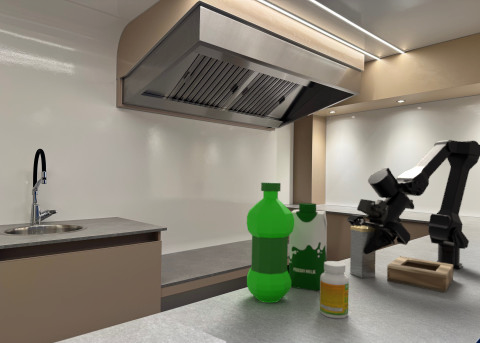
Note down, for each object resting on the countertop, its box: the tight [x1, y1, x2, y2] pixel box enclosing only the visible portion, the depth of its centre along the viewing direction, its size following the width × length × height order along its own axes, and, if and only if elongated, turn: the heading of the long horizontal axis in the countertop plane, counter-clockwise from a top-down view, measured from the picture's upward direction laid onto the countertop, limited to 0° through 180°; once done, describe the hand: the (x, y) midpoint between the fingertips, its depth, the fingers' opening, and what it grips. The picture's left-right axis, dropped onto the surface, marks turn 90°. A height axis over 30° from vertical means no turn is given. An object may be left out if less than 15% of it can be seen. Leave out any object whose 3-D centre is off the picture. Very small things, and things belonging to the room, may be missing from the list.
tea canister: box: [349, 225, 377, 279], centre depth 91 cm, size 5×5×13 cm
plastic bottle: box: [246, 182, 294, 304], centre depth 73 cm, size 10×10×25 cm
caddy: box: [386, 255, 454, 294], centre depth 88 cm, size 13×13×4 cm
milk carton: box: [288, 202, 328, 292], centre depth 83 cm, size 9×9×20 cm
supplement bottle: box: [319, 260, 350, 319], centre depth 66 cm, size 5×5×10 cm
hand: (358, 251), depth 91 cm, fingers closed on tea canister, 4 cm apart
